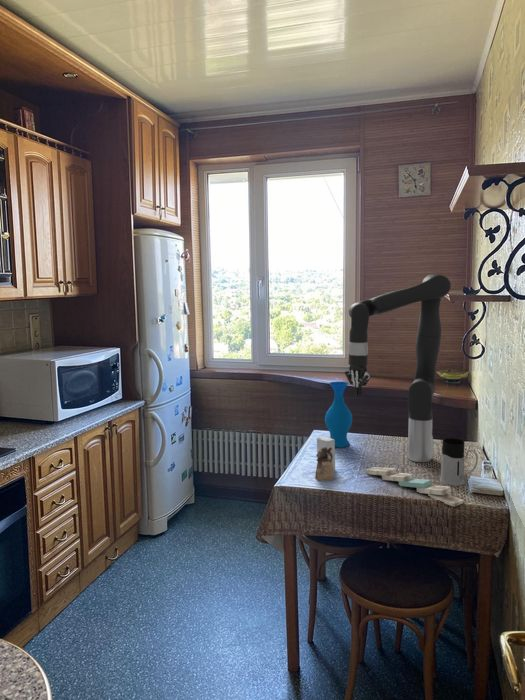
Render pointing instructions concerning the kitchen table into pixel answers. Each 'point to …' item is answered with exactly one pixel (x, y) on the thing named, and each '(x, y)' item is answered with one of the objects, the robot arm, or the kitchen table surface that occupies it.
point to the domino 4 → (435, 490)
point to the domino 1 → (381, 471)
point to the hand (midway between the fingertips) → (357, 395)
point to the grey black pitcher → (454, 462)
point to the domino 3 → (416, 483)
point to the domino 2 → (398, 477)
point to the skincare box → (327, 446)
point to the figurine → (324, 465)
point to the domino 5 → (447, 499)
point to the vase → (339, 416)
